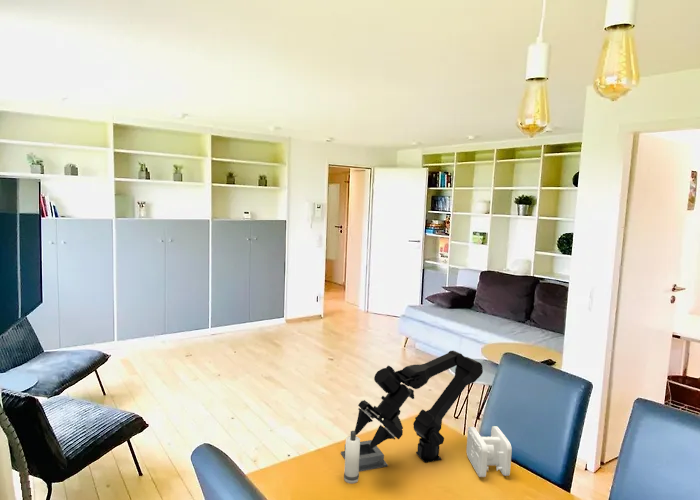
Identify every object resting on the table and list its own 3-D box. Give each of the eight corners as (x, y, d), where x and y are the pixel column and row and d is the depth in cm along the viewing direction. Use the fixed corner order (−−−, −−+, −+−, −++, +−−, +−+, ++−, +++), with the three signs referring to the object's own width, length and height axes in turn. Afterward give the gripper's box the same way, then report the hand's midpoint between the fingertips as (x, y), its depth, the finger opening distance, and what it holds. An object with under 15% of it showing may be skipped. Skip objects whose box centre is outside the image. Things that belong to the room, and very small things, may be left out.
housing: (372, 447, 162) (373, 438, 162) (387, 466, 151) (388, 455, 151) (340, 453, 158) (341, 443, 158) (353, 472, 147) (354, 461, 147)
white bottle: (355, 473, 146) (357, 427, 145) (360, 482, 142) (363, 434, 141) (341, 476, 145) (343, 429, 143) (347, 484, 141) (349, 436, 139)
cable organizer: (511, 481, 146) (514, 446, 145) (478, 481, 145) (481, 446, 144) (494, 455, 161) (496, 423, 159) (464, 455, 160) (466, 423, 159)
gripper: (424, 427, 144) (393, 469, 139) (390, 403, 160) (361, 440, 155) (405, 407, 139) (372, 450, 135) (372, 384, 155) (342, 422, 151)
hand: (362, 440), depth 144 cm, fingers open, 9 cm apart
